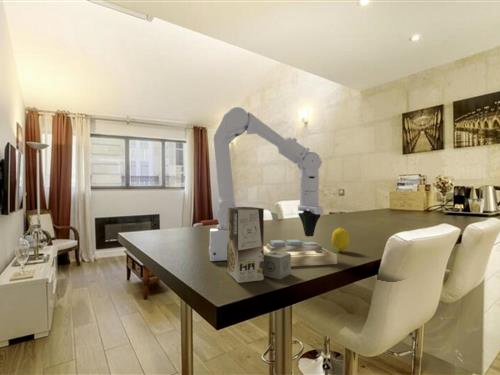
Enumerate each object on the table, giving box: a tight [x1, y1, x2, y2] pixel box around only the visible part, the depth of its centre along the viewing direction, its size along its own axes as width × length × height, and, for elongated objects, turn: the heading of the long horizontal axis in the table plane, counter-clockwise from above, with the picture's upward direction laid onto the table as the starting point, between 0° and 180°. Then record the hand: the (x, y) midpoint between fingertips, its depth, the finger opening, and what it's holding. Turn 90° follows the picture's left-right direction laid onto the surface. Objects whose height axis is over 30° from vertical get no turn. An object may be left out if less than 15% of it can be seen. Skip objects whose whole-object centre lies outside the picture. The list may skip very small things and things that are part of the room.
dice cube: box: [264, 251, 292, 280], centre depth 64 cm, size 5×5×5 cm
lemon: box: [331, 227, 350, 253], centre depth 88 cm, size 6×6×8 cm
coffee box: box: [226, 206, 265, 284], centre depth 63 cm, size 9×6×16 cm
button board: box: [264, 241, 338, 267], centre depth 79 cm, size 18×15×4 cm
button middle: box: [285, 239, 303, 246], centre depth 81 cm, size 4×4×2 cm
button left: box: [269, 239, 286, 247], centre depth 80 cm, size 4×4×2 cm
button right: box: [301, 241, 318, 246], centre depth 82 cm, size 4×4×2 cm
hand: (309, 236), depth 82 cm, fingers closed
